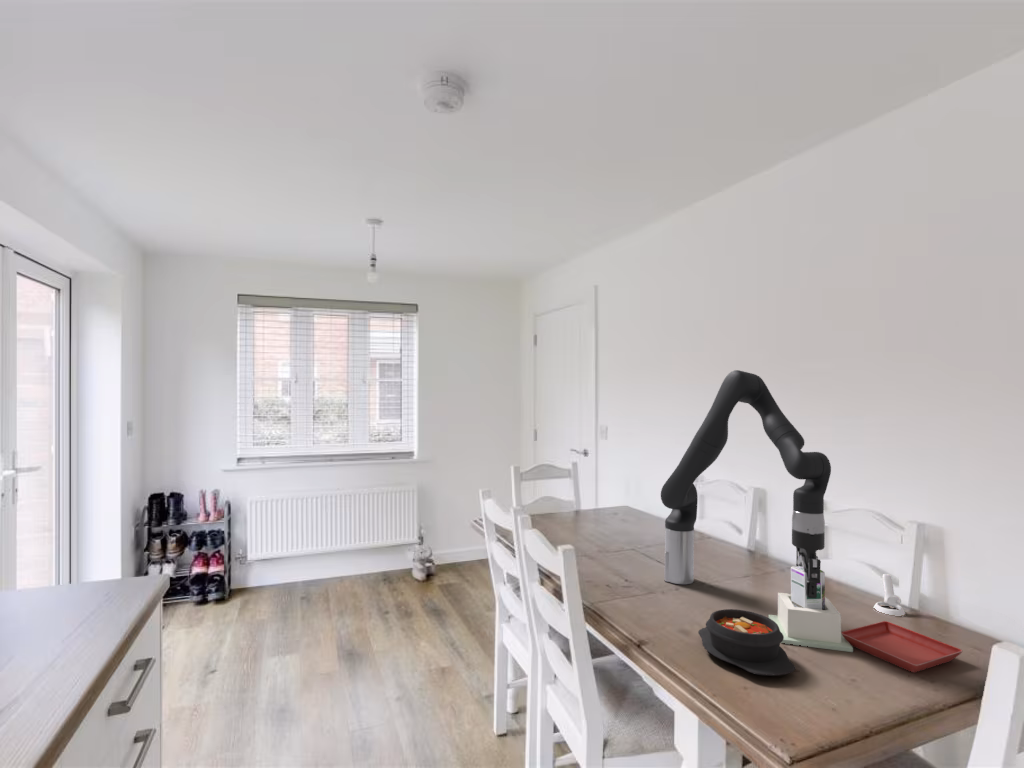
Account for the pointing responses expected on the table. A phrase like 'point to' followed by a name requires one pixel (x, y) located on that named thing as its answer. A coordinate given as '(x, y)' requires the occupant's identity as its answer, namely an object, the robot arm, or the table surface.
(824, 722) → the table surface
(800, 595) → the syrup box
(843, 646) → the box
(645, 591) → the table surface
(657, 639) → the table surface
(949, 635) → the table surface
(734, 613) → the casserole
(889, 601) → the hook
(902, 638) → the plant saucer
